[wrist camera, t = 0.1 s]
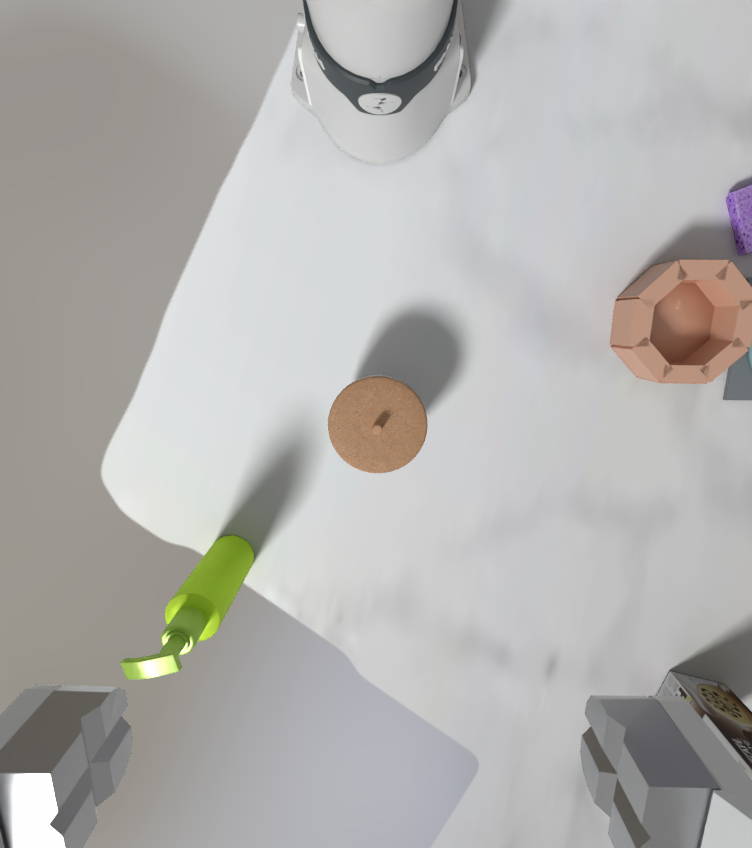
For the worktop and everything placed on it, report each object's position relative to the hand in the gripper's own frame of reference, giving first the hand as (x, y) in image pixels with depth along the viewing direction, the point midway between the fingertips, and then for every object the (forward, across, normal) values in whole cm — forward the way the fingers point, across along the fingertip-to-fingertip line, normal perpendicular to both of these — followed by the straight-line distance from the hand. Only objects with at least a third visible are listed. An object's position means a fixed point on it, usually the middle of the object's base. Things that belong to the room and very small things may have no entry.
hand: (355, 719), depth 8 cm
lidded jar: (+48, 0, +4) cm, 48 cm away
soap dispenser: (+48, +20, +24) cm, 58 cm away
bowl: (+48, -34, -7) cm, 59 cm away
